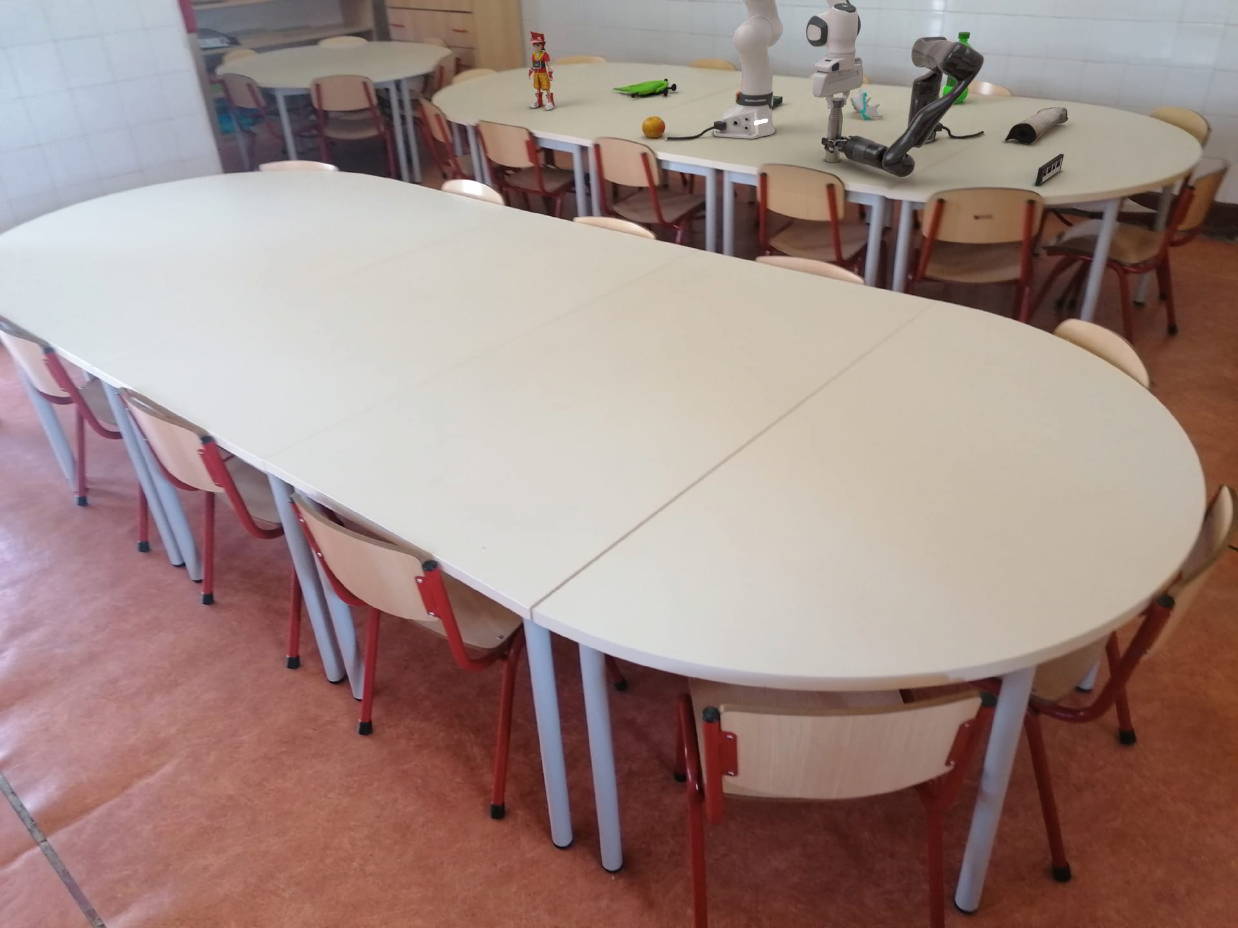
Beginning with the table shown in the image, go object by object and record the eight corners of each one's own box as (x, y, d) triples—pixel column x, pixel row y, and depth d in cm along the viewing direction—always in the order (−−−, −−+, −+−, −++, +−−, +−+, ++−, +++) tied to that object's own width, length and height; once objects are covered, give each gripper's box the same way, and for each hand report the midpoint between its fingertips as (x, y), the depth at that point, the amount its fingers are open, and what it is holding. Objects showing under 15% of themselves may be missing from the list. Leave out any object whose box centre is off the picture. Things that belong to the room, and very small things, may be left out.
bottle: (831, 157, 304) (836, 98, 293) (842, 160, 300) (847, 100, 290) (822, 160, 301) (826, 100, 291) (832, 163, 298) (837, 103, 287)
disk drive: (768, 112, 357) (782, 103, 367) (768, 105, 355) (783, 96, 365) (744, 110, 362) (759, 101, 372) (744, 103, 360) (759, 94, 370)
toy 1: (525, 109, 381) (517, 32, 364) (534, 104, 388) (527, 28, 371) (550, 110, 377) (543, 32, 360) (559, 105, 384) (553, 28, 367)
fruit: (635, 129, 332) (646, 109, 329) (642, 132, 340) (653, 113, 337) (653, 141, 331) (664, 122, 328) (660, 144, 339) (671, 125, 336)
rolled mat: (1035, 112, 325) (1059, 94, 316) (1049, 133, 325) (1073, 116, 317) (1000, 135, 307) (1025, 117, 299) (1015, 157, 308) (1040, 140, 300)
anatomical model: (845, 88, 346) (871, 81, 345) (848, 116, 352) (873, 109, 351) (857, 98, 334) (883, 90, 333) (859, 126, 340) (885, 119, 339)
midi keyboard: (1039, 185, 269) (1043, 168, 266) (1035, 184, 270) (1038, 168, 267) (1060, 170, 279) (1064, 154, 277) (1056, 169, 280) (1060, 153, 277)
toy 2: (686, 85, 398) (631, 84, 414) (685, 72, 395) (629, 72, 411) (651, 104, 381) (596, 103, 397) (650, 92, 378) (594, 91, 394)
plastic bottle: (973, 101, 354) (984, 32, 339) (955, 106, 349) (966, 36, 335) (952, 97, 361) (962, 29, 346) (934, 102, 356) (944, 33, 342)
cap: (836, 104, 294) (836, 96, 292) (846, 106, 291) (847, 99, 289) (826, 106, 292) (827, 99, 290) (837, 109, 289) (837, 101, 287)
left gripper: (854, 55, 290) (850, 99, 298) (810, 65, 281) (807, 111, 289) (870, 57, 286) (865, 102, 294) (826, 68, 277) (822, 114, 284)
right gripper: (881, 135, 287) (846, 124, 300) (846, 142, 282) (812, 131, 295) (878, 158, 291) (844, 147, 304) (843, 166, 286) (810, 154, 299)
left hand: (836, 107), depth 291 cm, fingers closed on cap, 4 cm apart
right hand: (828, 139), depth 299 cm, fingers closed on bottle, 4 cm apart
